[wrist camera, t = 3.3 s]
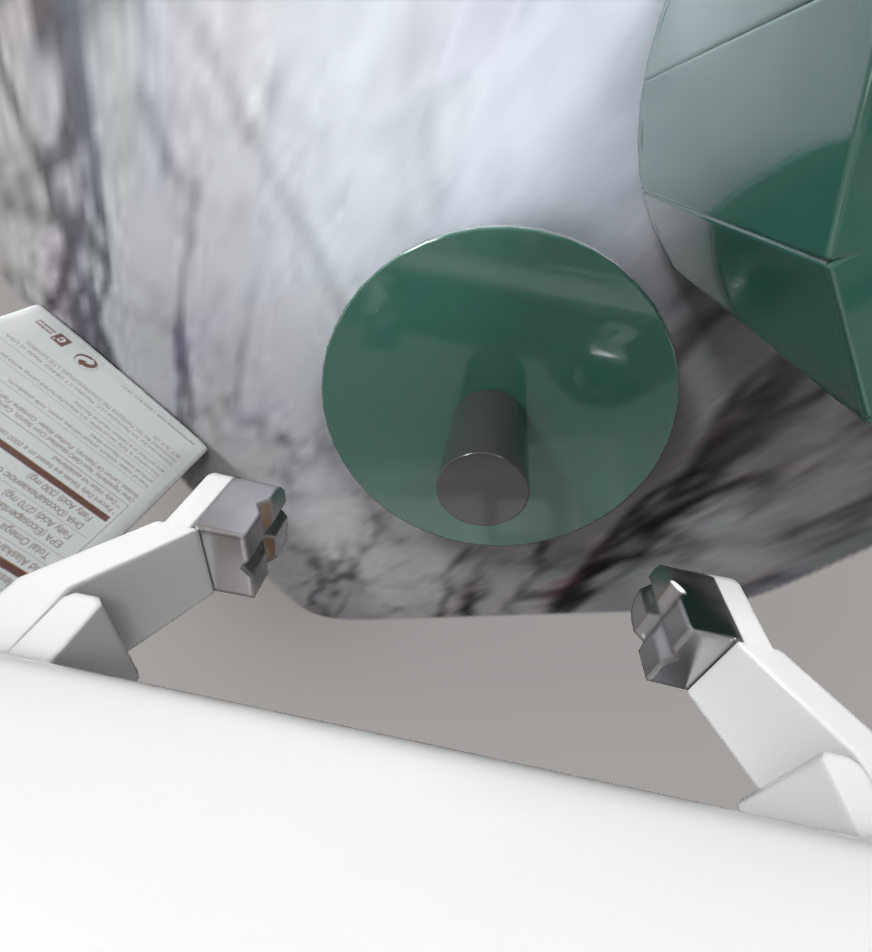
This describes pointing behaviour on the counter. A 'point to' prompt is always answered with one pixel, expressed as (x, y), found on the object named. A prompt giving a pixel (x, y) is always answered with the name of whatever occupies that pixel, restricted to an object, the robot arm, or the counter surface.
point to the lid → (500, 385)
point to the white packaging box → (75, 446)
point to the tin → (769, 173)
